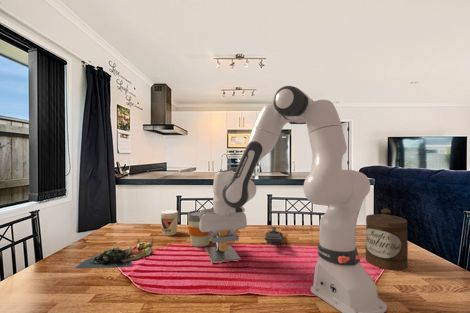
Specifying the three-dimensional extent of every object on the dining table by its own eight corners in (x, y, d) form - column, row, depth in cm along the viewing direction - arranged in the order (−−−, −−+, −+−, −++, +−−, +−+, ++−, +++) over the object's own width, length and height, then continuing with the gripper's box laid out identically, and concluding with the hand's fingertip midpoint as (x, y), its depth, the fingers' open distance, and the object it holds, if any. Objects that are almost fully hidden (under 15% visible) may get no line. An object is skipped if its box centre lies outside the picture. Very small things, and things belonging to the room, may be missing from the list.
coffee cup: (157, 235, 139) (157, 212, 139) (166, 230, 148) (166, 209, 148) (172, 236, 136) (172, 214, 136) (181, 231, 145) (181, 210, 145)
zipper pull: (263, 237, 116) (265, 222, 140) (263, 252, 116) (265, 235, 140) (283, 239, 114) (282, 223, 139) (283, 254, 114) (282, 236, 139)
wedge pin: (227, 250, 109) (227, 227, 109) (220, 251, 109) (220, 227, 108) (225, 247, 112) (225, 225, 112) (218, 248, 111) (218, 225, 111)
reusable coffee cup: (182, 246, 122) (182, 215, 122) (193, 238, 134) (193, 209, 134) (208, 249, 119) (208, 216, 119) (216, 240, 131) (216, 210, 131)
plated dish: (170, 245, 127) (170, 230, 126) (158, 272, 99) (158, 253, 98) (95, 247, 123) (95, 232, 123) (61, 276, 95) (61, 257, 95)
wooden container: (359, 261, 107) (359, 208, 106) (374, 252, 116) (374, 203, 116) (399, 274, 95) (400, 215, 95) (412, 263, 105) (413, 209, 105)
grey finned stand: (240, 260, 106) (240, 222, 106) (212, 264, 103) (212, 224, 103) (230, 247, 122) (230, 213, 121) (205, 249, 118) (205, 214, 118)
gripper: (200, 211, 104) (199, 245, 104) (248, 208, 110) (247, 240, 110) (197, 207, 110) (197, 239, 110) (243, 205, 116) (243, 235, 116)
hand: (223, 240), depth 110 cm, fingers closed on wedge pin, 3 cm apart
